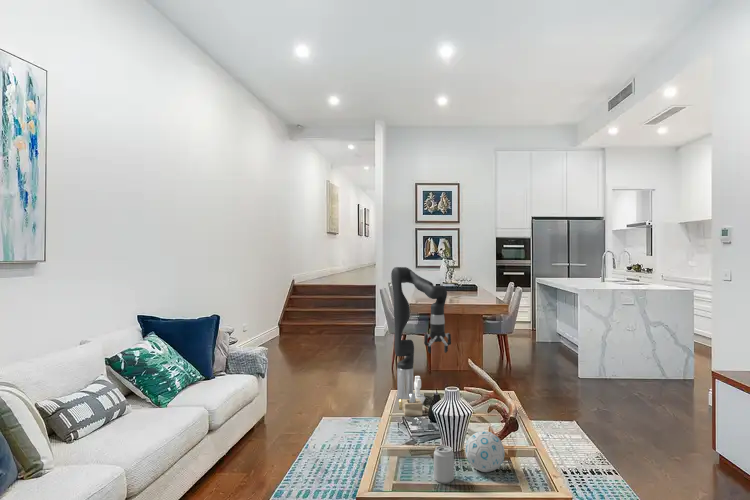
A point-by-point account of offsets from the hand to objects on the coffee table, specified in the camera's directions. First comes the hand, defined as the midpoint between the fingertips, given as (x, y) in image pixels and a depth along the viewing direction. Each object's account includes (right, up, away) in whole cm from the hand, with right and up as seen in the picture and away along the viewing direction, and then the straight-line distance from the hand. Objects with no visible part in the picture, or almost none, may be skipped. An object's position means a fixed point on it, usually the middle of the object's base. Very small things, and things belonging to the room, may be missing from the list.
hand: (437, 352), depth 280 cm
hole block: (-14, -30, -6) cm, 34 cm away
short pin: (-19, -30, 0) cm, 36 cm away
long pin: (-14, -30, -6) cm, 34 cm away
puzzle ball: (+10, -32, -75) cm, 82 cm away
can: (-8, -32, -83) cm, 89 cm away
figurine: (-10, -30, +10) cm, 33 cm away
